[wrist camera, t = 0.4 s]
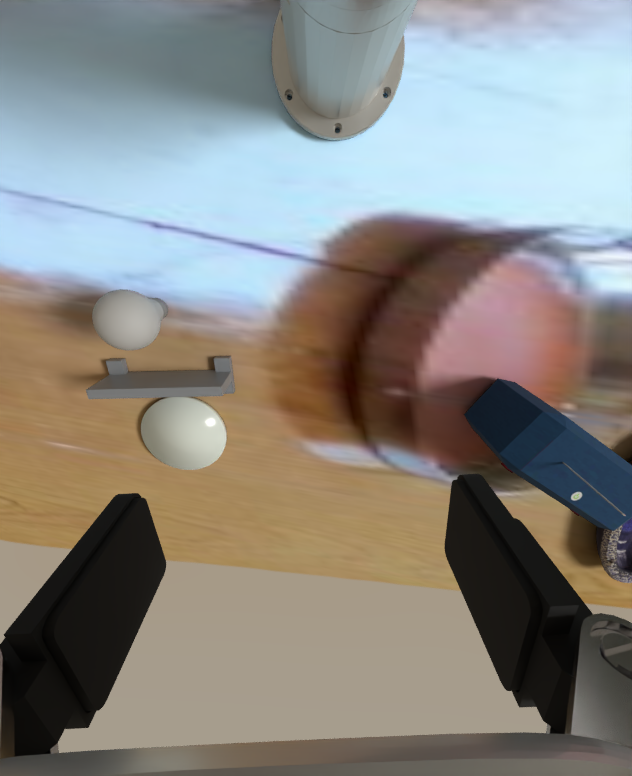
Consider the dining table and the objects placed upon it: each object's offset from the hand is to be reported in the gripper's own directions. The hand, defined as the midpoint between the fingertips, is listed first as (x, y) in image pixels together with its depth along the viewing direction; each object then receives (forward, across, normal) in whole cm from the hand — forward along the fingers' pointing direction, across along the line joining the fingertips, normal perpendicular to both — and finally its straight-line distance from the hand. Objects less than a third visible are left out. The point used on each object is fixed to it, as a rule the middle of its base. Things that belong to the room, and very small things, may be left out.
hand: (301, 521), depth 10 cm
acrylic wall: (+35, +19, +7) cm, 40 cm away
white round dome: (+35, +19, +16) cm, 43 cm away
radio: (+35, -31, +19) cm, 50 cm away
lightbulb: (+35, +18, -2) cm, 39 cm away
